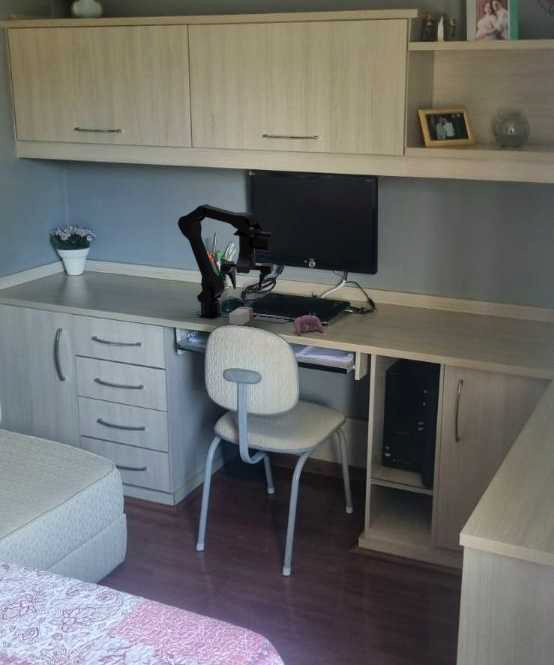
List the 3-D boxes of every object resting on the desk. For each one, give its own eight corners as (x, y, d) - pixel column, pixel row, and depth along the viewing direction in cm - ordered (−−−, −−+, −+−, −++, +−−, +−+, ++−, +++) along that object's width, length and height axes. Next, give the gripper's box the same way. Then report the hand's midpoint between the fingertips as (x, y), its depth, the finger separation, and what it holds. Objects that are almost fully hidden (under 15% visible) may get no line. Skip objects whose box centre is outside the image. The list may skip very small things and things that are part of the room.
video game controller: (320, 333, 315) (317, 314, 316) (324, 331, 311) (321, 312, 312) (294, 337, 312) (291, 317, 313) (298, 335, 308) (294, 315, 309)
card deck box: (229, 324, 324) (229, 313, 322) (240, 316, 331) (240, 306, 330) (241, 325, 322) (241, 314, 320) (252, 318, 329) (252, 307, 328)
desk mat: (252, 320, 327) (252, 318, 327) (265, 311, 337) (265, 310, 336) (284, 323, 322) (284, 322, 322) (296, 315, 331) (296, 314, 331)
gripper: (216, 252, 311) (216, 294, 316) (267, 255, 308) (267, 298, 313) (223, 245, 321) (224, 286, 326) (274, 247, 318) (273, 289, 323)
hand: (247, 290), depth 322 cm, fingers open, 9 cm apart
